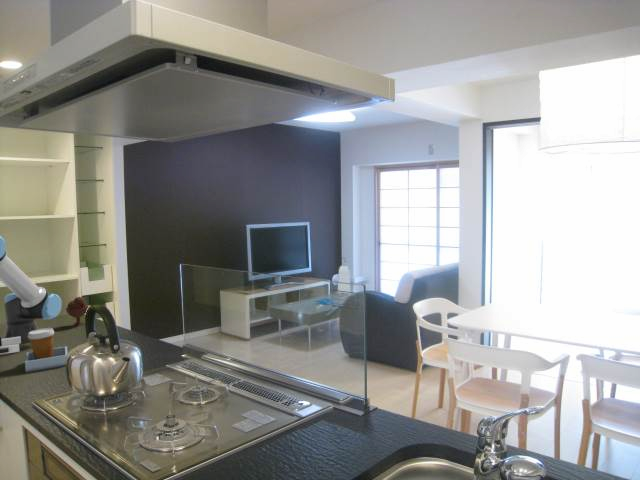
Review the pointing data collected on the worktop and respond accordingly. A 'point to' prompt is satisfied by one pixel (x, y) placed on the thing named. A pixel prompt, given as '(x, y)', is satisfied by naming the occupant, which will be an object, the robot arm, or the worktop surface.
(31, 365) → the tote
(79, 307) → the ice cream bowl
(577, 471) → the worktop surface
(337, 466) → the worktop surface
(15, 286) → the robot arm
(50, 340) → the disposable coffee cup
